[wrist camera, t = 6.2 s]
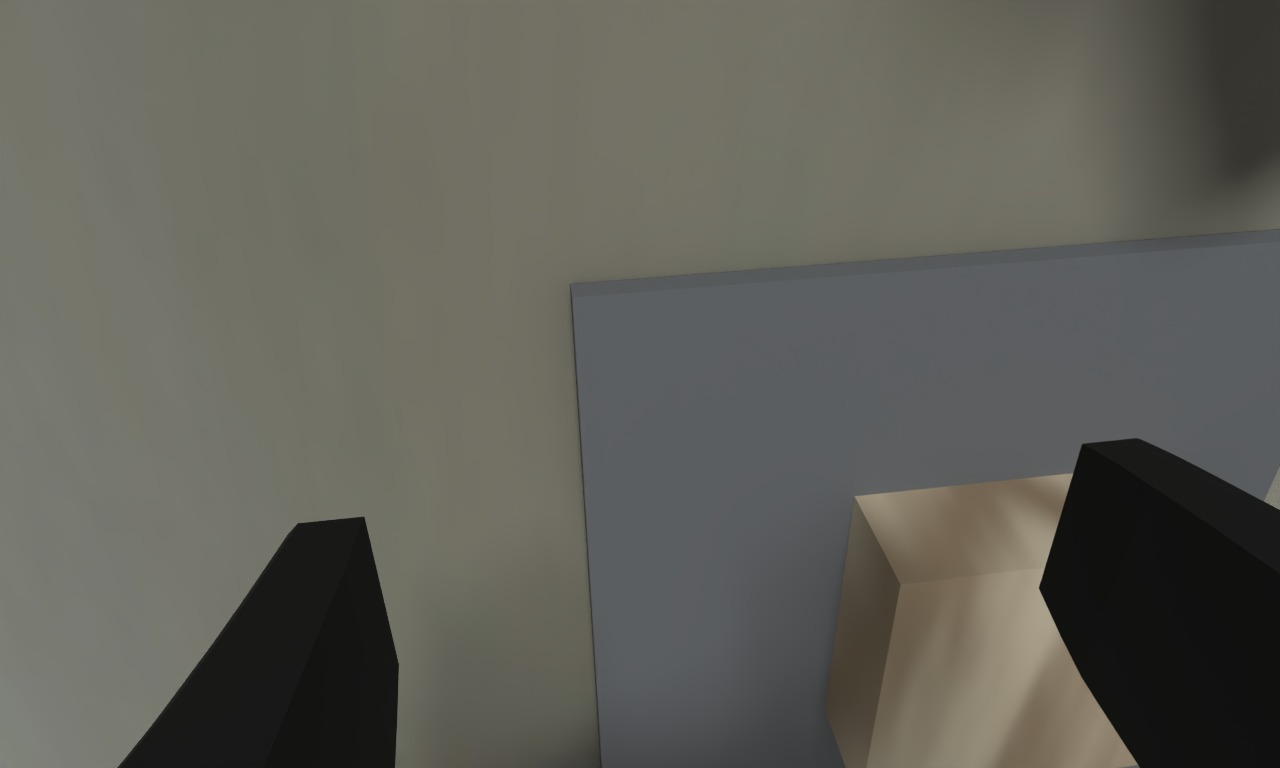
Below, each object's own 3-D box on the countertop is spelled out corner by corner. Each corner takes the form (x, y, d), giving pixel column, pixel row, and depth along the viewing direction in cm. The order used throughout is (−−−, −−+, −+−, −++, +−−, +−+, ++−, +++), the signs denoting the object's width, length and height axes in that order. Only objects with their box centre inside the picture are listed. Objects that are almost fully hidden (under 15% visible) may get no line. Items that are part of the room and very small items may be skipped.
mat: (1362, 222, 21) (1384, 233, 20) (1126, 767, 32) (1136, 782, 31) (570, 284, 19) (572, 297, 19) (605, 841, 30) (607, 859, 29)
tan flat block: (854, 495, 23) (1160, 464, 23) (824, 709, 27) (1083, 676, 28) (900, 584, 20) (1241, 545, 21) (859, 804, 24) (1142, 764, 25)
